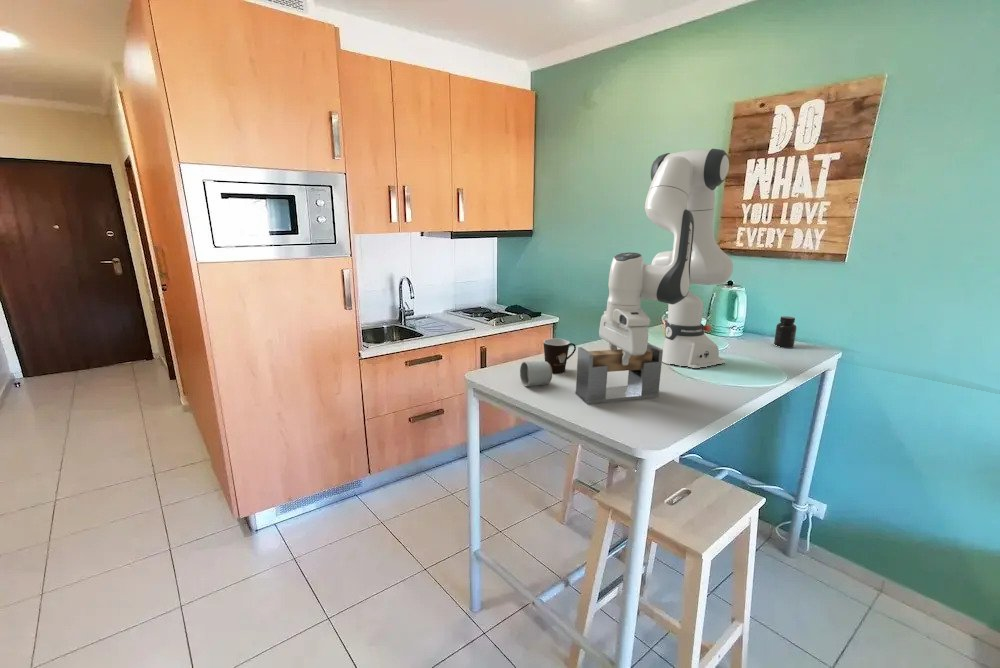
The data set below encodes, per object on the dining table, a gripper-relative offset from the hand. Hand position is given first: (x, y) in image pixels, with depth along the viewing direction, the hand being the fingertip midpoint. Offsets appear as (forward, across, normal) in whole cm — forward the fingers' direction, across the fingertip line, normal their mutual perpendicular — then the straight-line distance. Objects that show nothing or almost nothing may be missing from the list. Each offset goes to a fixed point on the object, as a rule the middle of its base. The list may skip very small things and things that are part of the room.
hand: (619, 361), depth 121 cm
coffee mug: (+10, -24, -8) cm, 27 cm away
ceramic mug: (+11, -15, -20) cm, 27 cm away
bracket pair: (+10, 0, 0) cm, 10 cm away
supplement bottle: (+10, -32, +92) cm, 98 cm away
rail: (+2, 0, 0) cm, 2 cm away
